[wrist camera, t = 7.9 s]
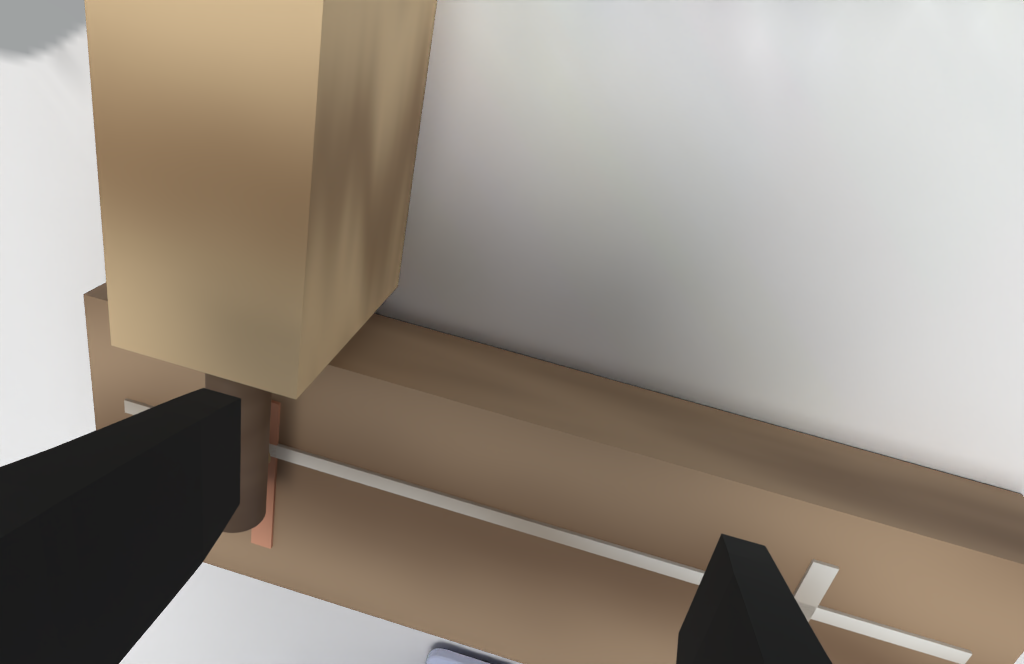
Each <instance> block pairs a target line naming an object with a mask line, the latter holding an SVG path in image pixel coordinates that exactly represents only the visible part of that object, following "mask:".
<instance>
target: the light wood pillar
mask: <svg viewBox="0 0 1024 664" xmlns="http://www.w3.org/2000/svg"><path fill="white" fill-rule="evenodd" d="M436 5H437V0H85V13H86V26H87V39H88V52H89V65H90V78H91V91H92V103H93V116H94V129H95V142H96V155H97V168H98V181H99V194H100V206H101V219H102V232H103V245H104V258H105V271H106V284H107V297H108V309H109V322H110V335H111V345H112V346H115V347H118V348H122V349H125V350H129V351H132V352H135V353H139V354H142V355H146V356H149V357H153V358H156V359H159V360H163V361H166V362H170V363H173V364H176V365H180V366H183V367H187V368H190V369H193V370H197V371H200V372H204V373H205V388H206V389H210V390H213V391H217V392H220V393H224V394H228V395H231V396H235V397H238V398H241V466H240V504H239V506H238V508H237V509H236V511H235V513H234V514H233V516H232V517H231V519H230V521H229V522H228V524H227V526H226V527H225V529H224V530H223V532H226V533H239V532H244V531H247V530H250V529H252V528H254V527H256V526H257V525H258V524H260V523H261V521H262V520H263V519H264V517H265V514H266V500H267V479H268V464H269V462H270V461H271V456H270V453H269V437H270V416H271V395H272V393H275V394H279V395H282V396H286V397H289V398H292V399H297V398H298V397H299V396H300V395H301V394H302V393H303V392H304V391H305V389H306V388H307V387H308V386H309V385H310V384H311V383H312V382H313V381H314V379H315V378H316V377H317V376H318V375H319V374H320V373H321V372H322V370H323V369H324V368H325V367H326V366H327V365H328V364H329V363H330V362H331V360H332V359H333V358H334V357H335V356H336V355H337V354H338V353H339V352H340V350H341V349H342V348H343V347H344V346H345V345H346V344H347V343H348V342H349V340H350V339H351V338H352V337H353V336H354V335H355V334H356V333H357V331H358V330H359V329H360V328H361V327H362V326H363V325H364V324H365V323H366V321H367V320H368V319H369V318H370V317H371V316H372V315H373V314H374V313H375V311H376V310H377V309H378V308H379V307H380V306H381V305H382V304H383V302H384V301H385V300H386V299H387V298H388V297H389V296H390V295H391V294H392V292H393V291H394V290H395V289H396V288H397V287H398V282H399V274H400V267H401V260H402V252H403V245H404V238H405V231H406V223H407V216H408V209H409V202H410V194H411V187H412V180H413V173H414V165H415V158H416V151H417V144H418V136H419V129H420V122H421V114H422V107H423V100H424V93H425V85H426V78H427V71H428V64H429V56H430V49H431V42H432V35H433V27H434V20H435V13H436Z"/></svg>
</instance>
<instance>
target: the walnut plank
mask: <svg viewBox="0 0 1024 664" xmlns="http://www.w3.org/2000/svg"><path fill="white" fill-rule="evenodd" d="M84 305H85V316H86V326H87V337H88V348H89V358H90V369H91V380H92V391H93V401H94V412H95V423H96V430H99V429H101V428H104V427H106V426H108V425H111V424H113V423H116V422H118V421H121V420H123V419H126V418H128V417H130V416H133V415H135V414H138V413H140V412H142V411H145V410H147V409H150V408H152V407H155V406H157V405H159V404H162V403H164V402H167V401H169V400H172V399H174V398H177V397H179V396H182V395H185V394H187V393H190V392H193V391H196V390H199V389H201V388H205V373H204V372H200V371H197V370H193V369H190V368H187V367H183V366H180V365H176V364H173V363H170V362H166V361H163V360H159V359H156V358H153V357H149V356H146V355H142V354H139V353H135V352H132V351H129V350H125V349H122V348H118V347H115V346H112V345H111V335H110V322H109V309H108V297H107V284H106V283H104V284H102V285H100V286H98V287H96V288H95V289H93V290H91V291H89V292H87V293H85V294H84ZM269 453H270V456H271V461H270V462H269V464H268V479H267V500H266V514H265V517H264V519H263V520H262V521H261V523H260V524H258V525H257V526H256V527H254V528H252V529H250V530H247V531H244V532H239V533H226V532H222V534H221V535H220V537H219V538H218V540H217V541H216V543H215V544H214V546H213V547H212V549H211V550H210V552H209V554H208V555H207V557H206V558H205V560H204V561H203V562H205V563H208V564H211V565H214V566H217V567H220V568H223V569H227V570H230V571H233V572H236V573H239V574H242V575H246V576H249V577H252V578H255V579H258V580H261V581H264V582H268V583H271V584H274V585H277V586H280V587H283V588H287V589H290V590H293V591H296V592H299V593H302V594H305V595H309V596H312V597H315V598H318V599H321V600H324V601H327V602H331V603H334V604H337V605H340V606H343V607H346V608H350V609H353V610H356V611H359V612H362V613H365V614H368V615H372V616H375V617H378V618H381V619H384V620H387V621H391V622H394V623H397V624H400V625H403V626H406V627H409V628H413V629H416V630H419V631H422V632H425V633H428V634H432V635H435V636H438V637H441V638H444V639H447V640H450V641H454V642H457V643H460V644H463V645H466V646H469V647H473V648H476V649H479V650H482V651H485V652H488V653H491V654H495V655H498V656H501V657H504V658H507V659H510V660H513V661H517V662H520V663H523V664H676V658H677V646H678V633H679V631H680V629H681V626H682V624H683V622H684V619H685V617H686V615H687V612H688V610H689V608H690V605H691V603H692V601H693V598H694V596H695V594H696V591H697V589H698V587H699V584H700V582H701V580H702V577H703V575H704V573H705V571H706V568H707V566H708V564H709V561H710V559H711V557H712V554H713V552H714V550H715V547H716V545H717V543H718V540H719V538H720V536H721V533H722V534H725V535H729V536H732V537H736V538H740V539H743V540H747V541H750V542H754V543H757V544H761V545H764V546H766V548H767V550H768V551H769V553H770V555H771V557H772V558H773V560H774V562H775V564H776V565H777V567H778V569H779V571H780V573H781V574H782V576H783V578H784V580H785V582H786V583H787V585H788V587H789V589H790V591H791V592H792V594H793V596H794V598H795V599H796V601H797V603H798V605H799V607H800V608H801V610H802V612H803V614H804V615H805V617H806V619H807V621H808V622H809V624H810V626H811V628H812V630H813V631H814V633H815V635H816V637H817V638H818V640H819V642H820V643H821V645H822V647H823V649H824V650H825V652H826V654H827V655H828V657H829V659H830V660H831V662H832V664H1014V663H1015V661H1016V660H1017V659H1018V658H1019V656H1020V655H1021V654H1022V653H1023V652H1024V497H1023V495H1022V494H1019V493H1015V492H1012V491H1008V490H1005V489H1001V488H997V487H994V486H990V485H987V484H983V483H980V482H976V481H972V480H969V479H965V478H962V477H958V476H954V475H951V474H947V473H944V472H940V471H937V470H933V469H929V468H926V467H922V466H919V465H915V464H912V463H908V462H904V461H901V460H897V459H894V458H890V457H886V456H883V455H879V454H876V453H872V452H869V451H865V450H861V449H858V448H854V447H851V446H847V445H843V444H840V443H836V442H833V441H829V440H826V439H822V438H818V437H815V436H811V435H808V434H804V433H800V432H797V431H793V430H790V429H786V428H783V427H779V426H775V425H772V424H768V423H765V422H761V421H757V420H754V419H750V418H747V417H743V416H740V415H736V414H732V413H729V412H725V411H722V410H718V409H714V408H711V407H707V406H704V405H700V404H697V403H693V402H689V401H686V400H682V399H679V398H675V397H672V396H668V395H664V394H661V393H657V392H654V391H650V390H646V389H643V388H639V387H636V386H632V385H629V384H625V383H621V382H618V381H614V380H611V379H607V378H603V377H600V376H596V375H593V374H589V373H586V372H582V371H578V370H575V369H571V368H568V367H564V366H560V365H557V364H553V363H550V362H546V361H543V360H539V359H535V358H532V357H528V356H525V355H521V354H517V353H514V352H510V351H507V350H503V349H500V348H496V347H492V346H489V345H485V344H482V343H478V342H475V341H471V340H467V339H464V338H460V337H457V336H453V335H449V334H446V333H442V332H439V331H435V330H432V329H428V328H424V327H421V326H417V325H414V324H410V323H406V322H403V321H399V320H396V319H392V318H389V317H385V316H381V315H378V314H373V315H372V316H371V317H370V318H369V319H368V320H367V321H366V323H365V324H364V325H363V326H362V327H361V328H360V329H359V330H358V331H357V333H356V334H355V335H354V336H353V337H352V338H351V339H350V340H349V342H348V343H347V344H346V345H345V346H344V347H343V348H342V349H341V350H340V352H339V353H338V354H337V355H336V356H335V357H334V358H333V359H332V360H331V362H330V363H329V364H328V365H327V366H326V367H325V368H324V369H323V370H322V372H321V373H320V374H319V375H318V376H317V377H316V378H315V379H314V381H313V382H312V383H311V384H310V385H309V386H308V387H307V388H306V389H305V391H304V392H303V393H302V394H301V395H300V396H299V397H298V398H297V399H292V398H289V397H286V396H282V395H279V394H275V393H272V395H271V416H270V437H269Z"/></svg>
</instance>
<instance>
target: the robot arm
mask: <svg viewBox="0 0 1024 664" xmlns="http://www.w3.org/2000/svg"><path fill="white" fill-rule="evenodd" d="M240 466H241V398H238V397H235V396H231V395H228V394H224V393H220V392H217V391H213V390H210V389H206V388H201V389H199V390H196V391H193V392H190V393H187V394H185V395H182V396H179V397H177V398H174V399H172V400H169V401H167V402H164V403H162V404H159V405H157V406H155V407H152V408H150V409H147V410H145V411H142V412H140V413H138V414H135V415H133V416H130V417H128V418H126V419H123V420H121V421H118V422H116V423H113V424H111V425H108V426H106V427H104V428H101V429H99V430H96V431H94V432H91V433H89V434H86V435H84V436H81V437H79V438H76V439H74V440H71V441H69V442H67V443H64V444H62V445H59V446H57V447H54V448H51V449H49V450H46V451H43V452H40V453H38V454H35V455H32V456H30V457H27V458H24V459H21V460H19V461H16V462H13V463H10V464H8V465H5V466H2V467H0V664H119V663H120V662H121V660H122V659H123V658H124V657H125V656H126V654H127V653H128V652H129V651H130V650H131V648H132V647H133V646H134V645H135V644H136V642H137V641H138V640H139V639H140V638H141V636H142V635H143V634H144V633H145V632H146V630H147V629H148V628H149V627H150V626H151V624H152V623H153V622H154V621H155V620H156V618H157V617H158V616H159V615H160V614H161V612H162V611H163V610H164V609H165V608H166V607H167V605H168V604H169V603H170V602H171V600H172V599H173V598H174V597H175V596H176V594H177V593H178V592H179V591H180V589H181V588H182V587H183V586H184V585H185V583H186V582H187V581H188V580H189V579H190V577H191V576H192V575H193V574H194V572H195V571H196V570H197V569H198V567H199V566H200V565H201V564H202V562H203V561H204V560H205V558H206V557H207V555H208V554H209V552H210V550H211V549H212V547H213V546H214V544H215V543H216V541H217V540H218V538H219V537H220V535H221V534H222V532H223V530H224V529H225V527H226V526H227V524H228V522H229V521H230V519H231V517H232V516H233V514H234V513H235V511H236V509H237V508H238V506H239V504H240ZM426 664H490V663H487V662H484V661H481V660H478V659H475V658H471V657H468V656H465V655H462V654H459V653H456V652H453V651H449V650H446V649H442V648H437V649H433V650H432V651H430V653H429V655H428V658H427V661H426ZM676 664H832V662H831V660H830V659H829V657H828V655H827V654H826V652H825V650H824V649H823V647H822V645H821V643H820V642H819V640H818V638H817V637H816V635H815V633H814V631H813V630H812V628H811V626H810V624H809V622H808V621H807V619H806V617H805V615H804V614H803V612H802V610H801V608H800V607H799V605H798V603H797V601H796V599H795V598H794V596H793V594H792V592H791V591H790V589H789V587H788V585H787V583H786V582H785V580H784V578H783V576H782V574H781V573H780V571H779V569H778V567H777V565H776V564H775V562H774V560H773V558H772V557H771V555H770V553H769V551H768V550H767V548H766V546H764V545H761V544H757V543H754V542H750V541H747V540H743V539H740V538H736V537H732V536H729V535H725V534H722V533H721V536H720V538H719V540H718V543H717V545H716V547H715V550H714V552H713V554H712V557H711V559H710V561H709V564H708V566H707V568H706V571H705V573H704V575H703V577H702V580H701V582H700V584H699V587H698V589H697V591H696V594H695V596H694V598H693V601H692V603H691V605H690V608H689V610H688V612H687V615H686V617H685V619H684V622H683V624H682V626H681V629H680V631H679V633H678V646H677V658H676Z"/></svg>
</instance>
